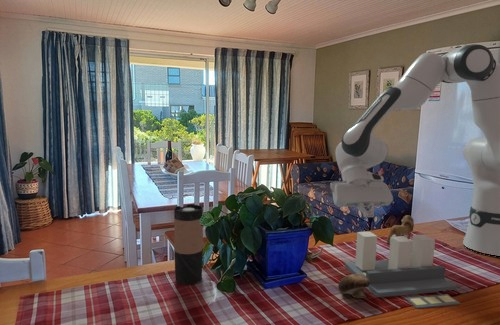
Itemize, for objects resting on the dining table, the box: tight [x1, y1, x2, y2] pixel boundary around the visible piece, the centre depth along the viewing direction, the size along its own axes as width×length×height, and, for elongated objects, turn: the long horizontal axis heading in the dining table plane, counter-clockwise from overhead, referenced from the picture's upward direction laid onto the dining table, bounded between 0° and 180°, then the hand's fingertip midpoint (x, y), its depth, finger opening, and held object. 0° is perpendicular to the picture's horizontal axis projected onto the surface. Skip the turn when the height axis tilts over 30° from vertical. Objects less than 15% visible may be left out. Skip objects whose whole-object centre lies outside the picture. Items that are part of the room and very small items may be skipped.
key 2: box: [410, 234, 436, 268], centre depth 98 cm, size 4×4×10 cm
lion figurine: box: [386, 214, 415, 244], centre depth 125 cm, size 15×5×9 cm, turn 132°
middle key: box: [388, 235, 413, 269], centre depth 96 cm, size 4×4×10 cm
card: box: [404, 293, 461, 310], centre depth 85 cm, size 12×4×1 cm, turn 101°
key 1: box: [354, 231, 378, 271], centre depth 99 cm, size 4×4×10 cm
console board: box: [344, 259, 458, 298], centre depth 97 cm, size 23×18×4 cm
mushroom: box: [337, 273, 370, 299], centre depth 87 cm, size 8×8×6 cm
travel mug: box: [173, 204, 204, 286], centre depth 93 cm, size 8×8×20 cm
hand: (369, 216), depth 112 cm, fingers closed
